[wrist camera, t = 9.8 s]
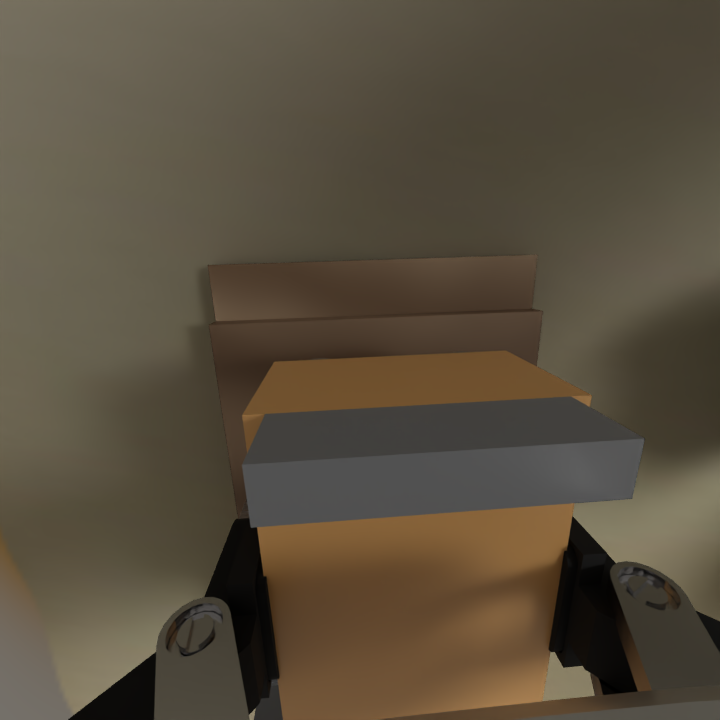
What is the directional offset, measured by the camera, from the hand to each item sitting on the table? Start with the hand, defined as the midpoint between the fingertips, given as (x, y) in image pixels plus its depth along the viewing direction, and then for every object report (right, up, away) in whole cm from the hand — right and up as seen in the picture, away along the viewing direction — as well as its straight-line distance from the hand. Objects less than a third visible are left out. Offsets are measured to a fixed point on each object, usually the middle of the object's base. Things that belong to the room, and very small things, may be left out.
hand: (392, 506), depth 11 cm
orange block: (0, 0, +1) cm, 1 cm away
